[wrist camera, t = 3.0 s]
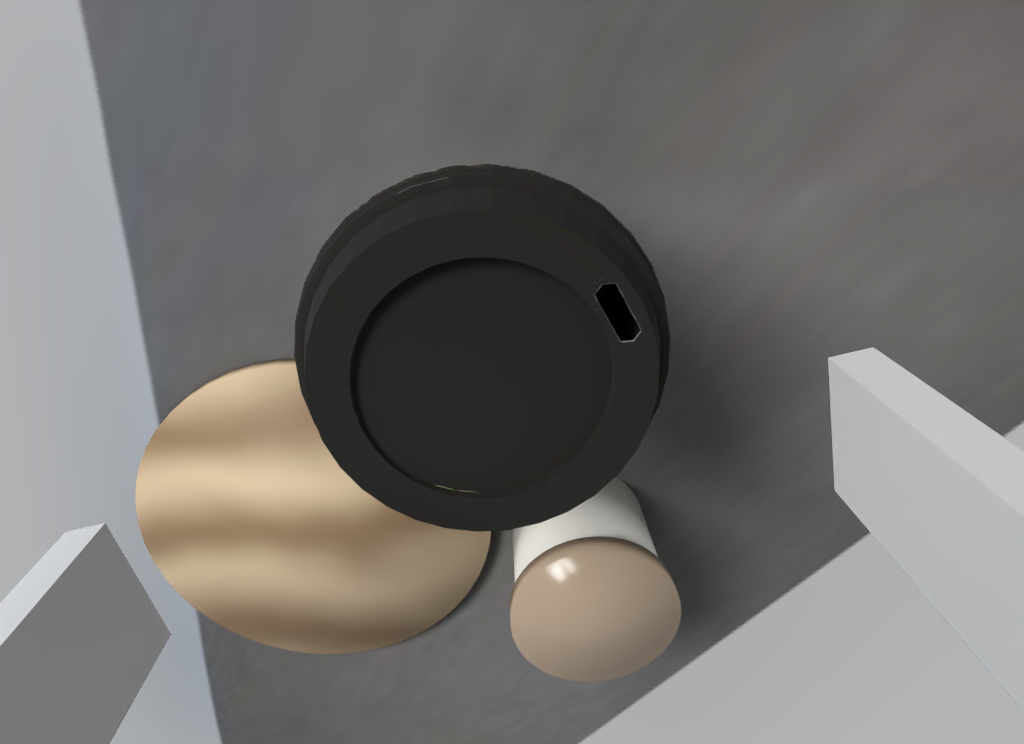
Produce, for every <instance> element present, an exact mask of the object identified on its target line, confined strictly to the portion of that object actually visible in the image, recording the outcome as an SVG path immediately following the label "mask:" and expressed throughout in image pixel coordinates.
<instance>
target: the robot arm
mask: <svg viewBox="0 0 1024 744" xmlns="http://www.w3.org/2000/svg"><path fill="white" fill-rule="evenodd" d="M828 365H829V386H830V406H831V426H832V447H833V467H834V487H835V491H836V492H837V494H838V495H839V496H840V497H841V498H842V499H843V501H844V502H845V503H846V504H847V505H848V507H849V508H850V509H851V510H852V511H853V512H854V514H855V515H856V516H857V517H858V518H859V519H860V521H861V522H862V523H863V524H864V525H865V526H866V528H867V529H868V530H869V531H870V532H871V534H872V535H873V536H874V537H875V538H876V539H877V541H878V542H879V543H880V544H881V545H882V546H883V548H884V549H885V550H886V551H887V552H888V553H889V555H890V556H891V557H892V558H893V559H894V560H895V562H896V563H897V564H898V565H899V566H900V568H901V569H902V570H903V571H904V572H905V573H906V575H907V576H908V577H909V578H910V579H911V580H912V582H913V583H914V584H915V585H916V586H917V587H918V588H919V590H920V591H921V592H922V593H923V595H924V596H925V597H926V598H927V599H928V600H929V602H930V603H931V604H932V605H933V606H934V607H935V609H936V610H937V611H938V612H939V613H940V614H941V616H942V617H943V618H944V619H945V620H946V622H947V623H948V624H949V625H950V626H951V627H952V629H953V630H954V631H955V632H956V633H957V635H958V636H959V637H960V638H961V639H962V640H963V642H964V643H965V644H966V645H967V646H968V647H969V649H970V650H971V651H972V652H973V653H974V654H975V656H976V657H977V658H978V659H979V660H980V662H981V663H982V664H983V665H984V666H985V667H986V669H987V670H989V672H990V673H991V674H992V676H993V677H994V678H995V679H996V680H997V681H998V683H999V684H1000V685H1001V686H1002V687H1003V689H1004V690H1005V691H1006V692H1007V693H1008V694H1009V695H1010V696H1011V698H1012V699H1013V700H1014V701H1015V702H1016V704H1017V705H1018V706H1019V707H1020V708H1021V710H1022V711H1023V712H1024V451H1023V450H1021V449H1020V448H1018V447H1017V446H1015V445H1014V444H1012V443H1011V442H1010V441H1008V440H1007V439H1005V438H1004V437H1002V436H1001V435H999V434H998V433H997V432H995V431H994V430H992V429H991V428H989V427H988V426H986V425H985V424H984V423H982V422H981V421H979V420H978V419H976V418H975V417H973V416H972V415H971V414H969V413H968V412H966V411H965V410H963V409H962V408H960V407H959V406H958V405H956V404H955V403H953V402H952V401H950V400H949V399H947V398H946V397H944V396H943V395H942V394H940V393H939V392H937V391H936V390H934V389H933V388H931V387H930V386H929V385H927V384H926V383H924V382H923V381H921V380H920V379H918V378H917V377H916V376H914V375H913V374H911V373H910V372H908V371H907V370H905V369H904V368H903V367H901V366H900V365H898V364H897V363H895V362H894V361H892V360H891V359H890V358H888V357H887V356H885V355H884V354H882V353H881V352H879V351H878V350H876V349H875V348H874V347H873V348H868V349H864V350H859V351H855V352H851V353H846V354H842V355H838V356H833V357H829V358H828ZM170 635H171V634H170V632H169V630H168V628H167V627H166V625H165V623H164V622H163V620H162V618H161V617H160V615H159V613H158V611H157V610H156V608H155V607H154V605H153V603H152V601H151V600H150V598H149V596H148V595H147V593H146V591H145V590H144V588H143V586H142V585H141V583H140V581H139V579H138V578H137V576H136V574H135V573H134V571H133V569H132V568H131V566H130V564H129V563H128V561H127V559H126V557H125V556H124V554H123V553H122V551H121V549H120V547H119V546H118V544H117V542H116V541H115V539H114V538H113V536H112V534H111V532H110V530H109V529H108V527H107V525H106V524H105V523H103V524H98V525H94V526H90V527H86V528H81V529H77V530H73V531H68V532H65V533H64V534H63V535H62V537H61V538H60V539H59V540H58V541H57V542H56V543H55V544H54V545H53V546H52V547H51V549H50V550H49V551H48V552H47V553H46V554H45V555H44V556H43V558H41V559H40V560H39V562H38V563H37V564H36V565H35V566H34V567H33V568H32V569H31V570H30V571H29V572H28V573H27V575H26V576H25V577H24V578H23V579H22V580H21V581H20V582H19V583H18V584H17V585H16V587H15V588H14V589H13V590H12V591H11V592H10V593H9V594H8V595H7V596H6V597H5V598H4V600H3V601H2V602H1V603H0V744H110V742H111V740H112V738H113V736H114V735H115V733H116V731H117V729H118V728H119V726H120V724H121V722H122V720H123V719H124V717H125V715H126V713H127V712H128V710H129V708H130V706H131V704H132V703H133V701H134V699H135V697H136V696H137V694H138V692H139V690H140V688H141V687H142V685H143V683H144V681H145V680H146V678H147V676H148V674H149V672H150V671H151V669H152V667H153V665H154V663H155V662H156V660H157V658H158V656H159V654H160V653H161V651H162V649H163V648H164V646H165V644H166V642H167V640H168V639H169V637H170Z"/></svg>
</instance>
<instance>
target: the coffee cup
mask: <svg viewBox="0 0 1024 744" xmlns="http://www.w3.org/2000/svg"><path fill="white" fill-rule="evenodd" d="M669 348H670V333H669V326H668V320H667V313H666V307H665V300H664V295H663V293H662V290H661V288H660V285H659V283H658V280H657V277H656V275H655V272H654V270H653V267H652V264H651V262H650V261H649V259H648V258H647V256H646V255H645V253H644V252H643V250H642V249H641V247H640V246H639V244H638V243H637V241H636V239H635V238H634V236H633V235H632V233H631V232H630V231H629V230H628V229H627V228H626V227H625V226H624V225H623V224H622V223H621V222H620V221H619V220H618V219H617V218H616V217H615V216H614V215H613V214H612V213H611V212H610V211H609V210H608V209H607V208H606V207H604V206H603V205H602V204H600V203H599V202H597V201H596V200H594V199H592V198H591V197H589V196H588V195H586V194H585V193H583V192H581V191H580V190H578V189H577V188H575V187H574V186H572V185H570V184H568V183H565V182H563V181H560V180H557V179H555V178H552V177H549V176H547V175H544V174H541V173H539V172H536V171H533V170H528V169H522V168H515V167H509V166H502V165H496V164H480V165H459V166H449V167H445V168H441V169H437V170H433V171H430V172H426V173H422V174H418V175H414V176H411V177H409V178H407V179H405V180H403V181H401V182H399V183H397V184H395V185H393V186H391V187H389V188H387V189H385V190H383V191H381V192H379V193H377V194H375V195H374V196H373V197H371V198H370V199H369V200H368V201H366V202H365V203H364V204H363V205H361V206H360V207H359V208H358V209H356V210H355V211H354V212H353V213H351V214H350V215H349V216H348V217H346V218H345V219H344V221H343V222H342V223H341V224H340V225H339V227H338V228H337V229H336V230H335V232H334V233H333V234H332V235H331V237H330V238H329V239H328V240H327V241H326V243H325V244H324V245H323V246H322V248H321V250H320V252H319V254H318V256H317V258H316V260H315V262H314V264H313V266H312V268H311V270H310V272H309V274H308V276H307V278H306V280H305V283H304V287H303V291H302V295H301V299H300V303H299V307H298V311H297V315H296V321H295V350H294V358H295V363H296V368H297V373H298V379H299V384H300V389H301V393H302V395H303V398H304V400H305V403H306V405H307V407H308V410H309V412H310V415H311V417H312V419H313V422H314V424H315V426H316V427H317V429H318V432H319V434H320V437H321V439H322V441H323V443H324V444H325V446H326V447H327V449H328V450H329V452H330V453H331V455H332V456H333V458H334V459H335V461H336V462H337V464H338V465H339V466H340V468H341V469H342V470H343V471H344V472H345V473H346V474H347V475H348V476H349V477H350V478H351V479H352V480H353V481H354V482H355V483H356V484H357V485H358V486H359V487H360V488H361V489H362V490H364V491H365V492H367V493H368V494H370V495H371V496H373V497H374V498H375V499H377V500H378V501H380V502H381V503H383V504H384V505H386V506H387V507H389V508H391V509H393V510H395V511H397V512H400V513H402V514H404V515H406V516H408V517H410V518H413V519H415V520H417V521H421V522H425V523H428V524H432V525H436V526H439V527H443V528H447V529H457V530H466V531H476V532H481V531H499V530H511V529H515V528H520V527H525V526H529V525H534V524H538V523H541V522H544V521H546V520H549V519H551V518H554V517H556V516H559V515H561V514H564V513H566V512H569V511H570V510H572V509H573V508H575V507H577V506H578V505H580V504H582V503H583V502H585V501H586V500H588V499H590V498H591V497H593V496H595V495H596V494H597V493H598V492H599V491H600V490H601V489H602V488H604V487H605V486H606V485H607V484H608V483H609V482H610V481H612V480H613V479H614V478H615V477H616V476H617V475H618V474H619V473H620V471H621V470H622V469H623V467H624V466H625V465H626V464H627V462H628V461H629V460H630V458H631V457H632V456H633V455H634V453H635V452H636V450H637V448H638V446H639V444H640V443H641V441H642V439H643V437H644V435H645V433H646V431H647V429H648V427H649V425H650V422H651V420H652V418H653V416H654V414H655V412H656V410H657V408H658V406H659V403H660V399H661V396H662V392H663V388H664V384H665V381H666V377H667V373H668V366H669Z"/></svg>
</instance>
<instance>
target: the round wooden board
mask: <svg viewBox="0 0 1024 744" xmlns="http://www.w3.org/2000/svg"><path fill="white" fill-rule="evenodd" d="M136 511H137V516H138V523H139V527H140V530H141V533H142V536H143V539H144V542H145V545H146V547H147V549H148V551H149V553H150V555H151V557H152V559H153V561H154V562H155V564H156V565H157V567H158V568H159V570H160V571H161V572H162V574H163V576H164V577H165V578H166V580H167V581H168V582H169V583H170V584H171V585H172V586H173V588H174V589H175V590H176V591H177V592H178V593H179V594H180V595H181V596H182V597H183V598H184V599H185V600H186V601H188V602H189V603H190V604H191V605H192V606H193V607H194V608H196V609H197V610H198V611H200V612H201V613H203V614H204V615H205V616H207V617H208V618H209V619H211V620H213V621H214V622H216V623H218V624H220V625H221V626H223V627H225V628H226V629H228V630H230V631H232V632H235V633H237V634H239V635H241V636H244V637H246V638H248V639H251V640H254V641H257V642H260V643H263V644H266V645H268V646H273V647H277V648H281V649H285V650H290V651H297V652H304V653H314V654H345V653H356V652H363V651H369V650H374V649H378V648H382V647H386V646H390V645H393V644H396V643H398V642H401V641H403V640H406V639H409V638H411V637H413V636H415V635H417V634H419V633H421V632H423V631H425V630H427V629H428V628H430V627H431V626H433V625H434V624H436V623H437V622H439V621H440V620H441V619H443V618H444V617H445V616H446V615H447V614H449V613H450V612H451V611H452V610H453V609H454V608H455V607H456V606H457V605H458V604H459V603H460V602H461V601H462V600H463V598H464V597H465V596H466V595H467V594H468V593H469V591H470V589H471V588H472V586H473V585H474V583H475V582H476V580H477V578H478V577H479V574H480V572H481V570H482V568H483V565H484V563H485V561H486V557H487V553H488V549H489V545H490V539H491V531H481V532H476V531H466V530H457V529H447V528H443V527H439V526H436V525H432V524H428V523H425V522H421V521H417V520H415V519H413V518H410V517H408V516H406V515H404V514H402V513H400V512H397V511H395V510H393V509H391V508H389V507H387V506H386V505H384V504H383V503H381V502H380V501H378V500H377V499H375V498H374V497H373V496H371V495H370V494H368V493H367V492H365V491H364V490H362V489H361V488H360V487H359V486H358V485H357V484H356V483H355V482H354V481H353V480H352V479H351V478H350V477H349V476H348V475H347V474H346V473H345V472H344V471H343V470H342V469H341V468H340V466H339V465H338V464H337V462H336V461H335V459H334V458H333V456H332V455H331V453H330V452H329V450H328V449H327V447H326V446H325V444H324V443H323V441H322V439H321V437H320V434H319V432H318V429H317V427H316V426H315V424H314V422H313V419H312V417H311V415H310V412H309V410H308V407H307V405H306V403H305V400H304V398H303V395H302V393H301V389H300V384H299V379H298V373H297V368H296V363H295V359H277V360H272V361H266V362H260V363H254V364H251V365H248V366H245V367H241V368H238V369H235V370H232V371H229V372H227V373H225V374H223V375H221V376H219V377H217V378H214V379H212V380H210V381H209V382H207V383H206V384H204V385H203V386H201V387H199V388H198V389H196V390H195V391H193V392H192V393H191V394H190V395H189V396H187V397H186V398H185V399H184V400H183V401H182V402H181V403H180V404H178V405H177V406H176V407H175V408H174V409H173V410H172V412H171V413H170V414H169V415H168V416H167V417H166V419H165V420H164V421H163V422H162V423H161V425H160V426H159V427H158V428H157V430H156V431H155V433H154V434H153V436H152V438H151V440H150V442H149V443H148V445H147V447H146V449H145V452H144V455H143V457H142V460H141V463H140V466H139V470H138V476H137V481H136Z"/></svg>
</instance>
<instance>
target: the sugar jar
mask: <svg viewBox="0 0 1024 744" xmlns="http://www.w3.org/2000/svg"><path fill="white" fill-rule="evenodd" d="M512 535H513V553H514V571H515V585H514V587H513V590H512V593H511V598H510V621H511V631H512V636H513V639H514V641H515V644H516V646H517V647H518V649H519V651H520V652H521V653H522V655H523V656H524V657H525V658H526V659H527V660H528V661H529V662H530V663H531V664H533V665H534V666H535V667H537V668H538V669H540V670H542V671H544V672H546V673H548V674H550V675H553V676H555V677H558V678H562V679H566V680H571V681H578V682H600V681H607V680H612V679H616V678H620V677H624V676H626V675H629V674H632V673H634V672H636V671H638V670H640V669H642V668H644V667H645V666H647V665H649V664H650V663H651V662H653V661H654V660H655V659H657V658H658V657H659V656H660V655H661V654H662V653H663V652H664V651H665V650H666V649H667V647H668V646H669V645H670V644H671V642H672V640H673V639H674V637H675V635H676V633H677V631H678V628H679V624H680V620H681V602H680V598H679V595H678V592H677V589H676V586H675V584H674V581H673V578H672V576H671V574H670V572H669V570H668V569H667V567H666V566H665V564H664V563H663V562H662V561H661V560H660V559H659V558H658V556H657V553H656V550H655V547H654V544H653V541H652V539H651V536H650V533H649V530H648V527H647V524H646V521H645V519H644V516H643V513H642V510H641V507H640V504H639V502H638V500H637V498H636V496H635V494H634V493H633V491H632V490H631V489H630V488H629V487H628V485H627V484H625V483H624V482H623V481H622V480H620V479H619V478H617V477H615V478H614V479H613V480H612V481H610V482H609V483H608V484H607V485H606V486H605V487H604V488H602V489H601V490H600V491H599V492H598V493H597V494H596V495H595V496H593V497H591V498H590V499H588V500H586V501H585V502H583V503H582V504H580V505H578V506H577V507H575V508H573V509H572V510H570V511H569V512H566V513H564V514H561V515H559V516H556V517H554V518H551V519H549V520H546V521H544V522H541V523H538V524H534V525H529V526H525V527H520V528H515V529H512Z"/></svg>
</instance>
